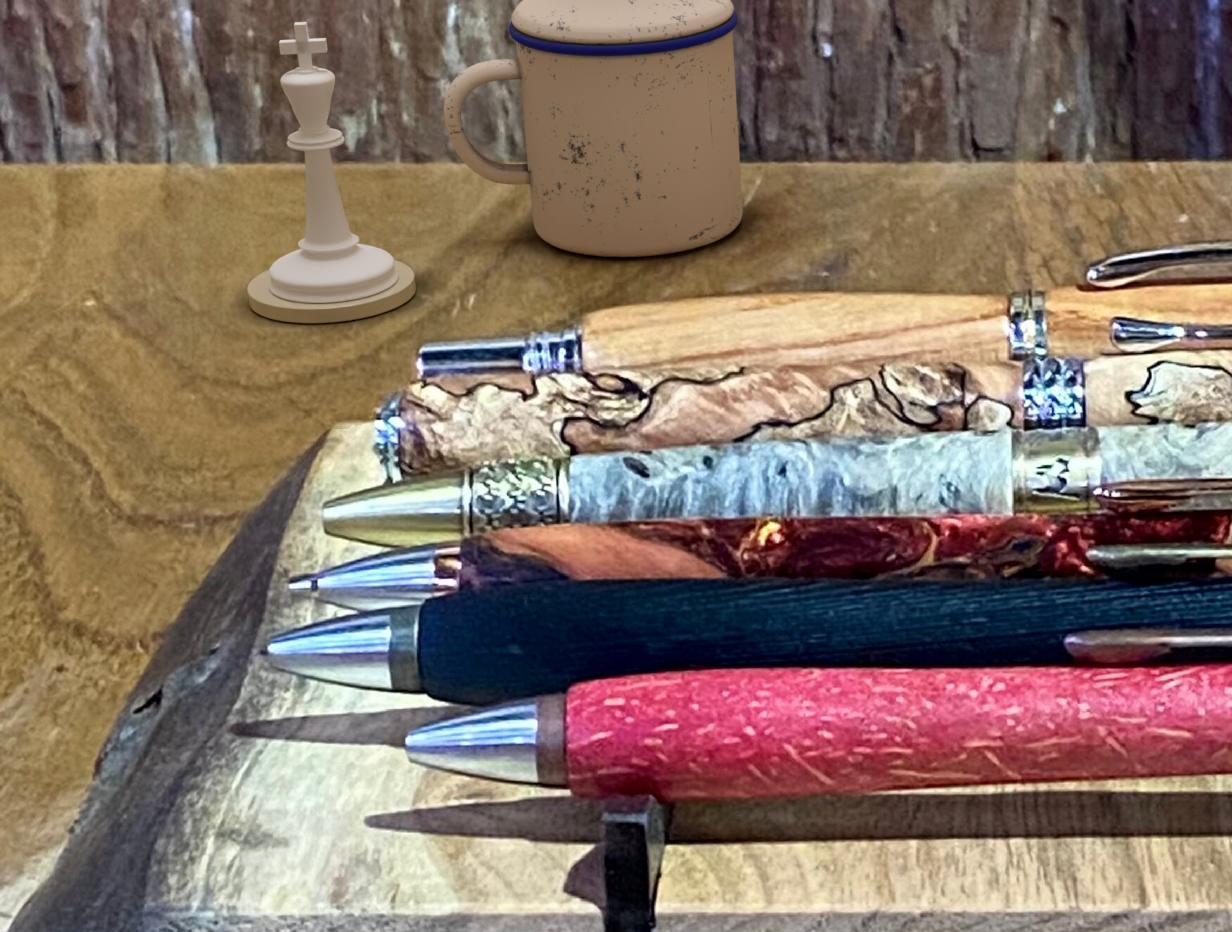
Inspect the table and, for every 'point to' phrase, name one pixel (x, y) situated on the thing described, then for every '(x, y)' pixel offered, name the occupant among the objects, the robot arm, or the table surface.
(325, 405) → the table surface
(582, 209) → the teacup with lid
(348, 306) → the coaster
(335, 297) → the chess piece
